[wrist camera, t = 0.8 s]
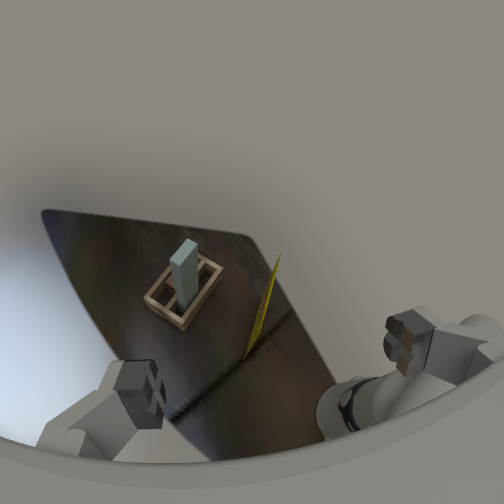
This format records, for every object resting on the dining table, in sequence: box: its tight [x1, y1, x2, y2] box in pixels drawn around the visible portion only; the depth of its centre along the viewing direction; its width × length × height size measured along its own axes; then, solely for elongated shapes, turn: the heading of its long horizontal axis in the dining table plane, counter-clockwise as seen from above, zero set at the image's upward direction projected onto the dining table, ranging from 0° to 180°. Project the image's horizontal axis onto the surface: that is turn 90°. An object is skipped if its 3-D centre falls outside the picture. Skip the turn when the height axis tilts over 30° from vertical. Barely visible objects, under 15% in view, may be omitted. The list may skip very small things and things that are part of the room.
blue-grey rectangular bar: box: [170, 239, 199, 314], centre depth 55 cm, size 2×5×22 cm, turn 151°
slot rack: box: [143, 254, 223, 331], centre depth 63 cm, size 10×16×5 cm, turn 151°
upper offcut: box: [165, 274, 176, 293], centre depth 63 cm, size 3×6×2 cm, turn 151°
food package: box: [244, 253, 281, 359], centre depth 55 cm, size 15×1×20 cm, turn 165°
